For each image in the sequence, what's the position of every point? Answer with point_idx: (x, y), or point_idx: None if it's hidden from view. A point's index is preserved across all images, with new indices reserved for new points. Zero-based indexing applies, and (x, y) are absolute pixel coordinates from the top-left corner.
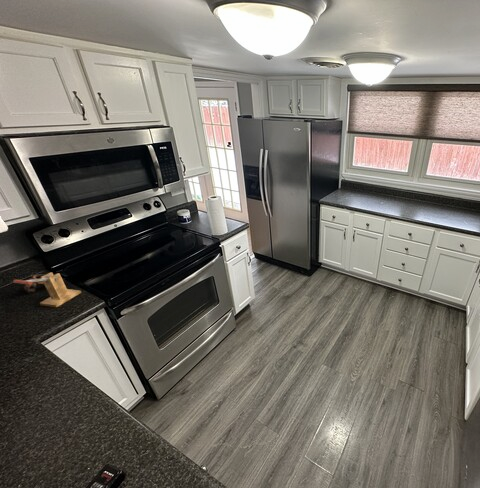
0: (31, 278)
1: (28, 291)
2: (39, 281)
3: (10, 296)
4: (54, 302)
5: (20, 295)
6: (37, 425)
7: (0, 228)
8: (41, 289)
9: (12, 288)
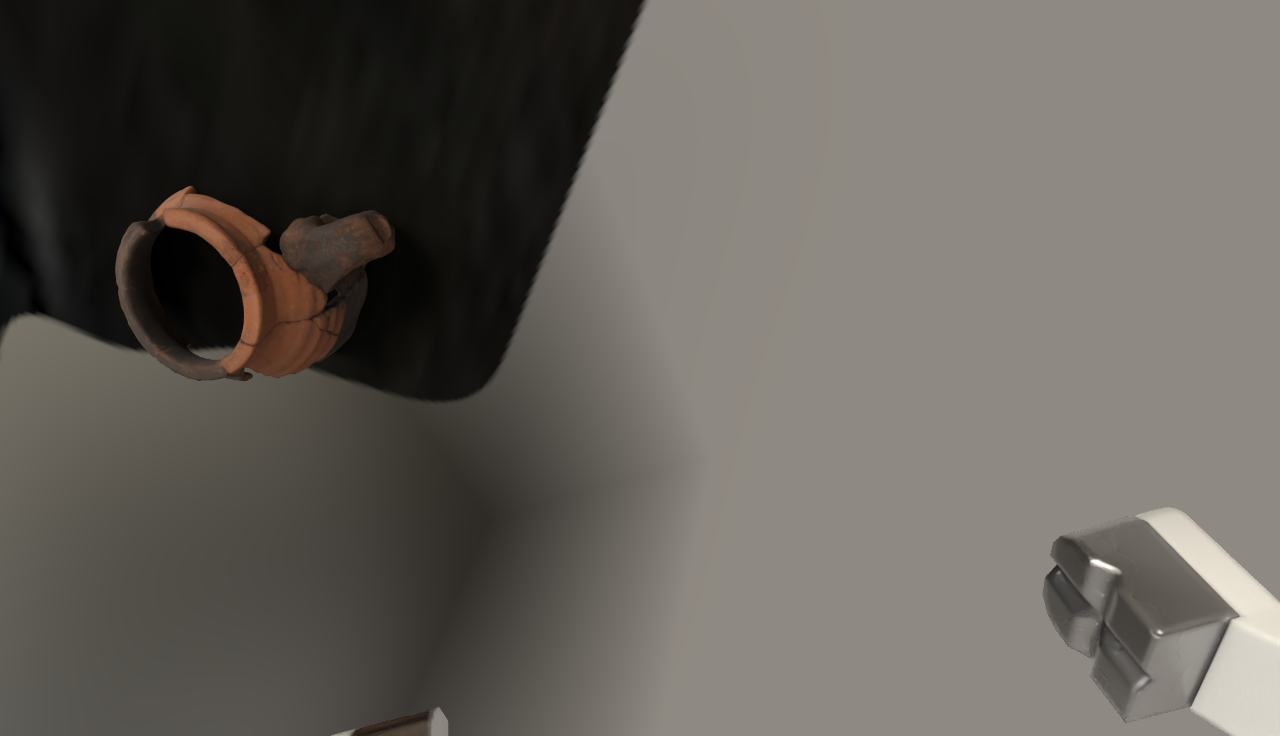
0: (280, 349)
1: None
2: (240, 235)
3: (506, 264)
4: None
5: (451, 203)
6: None
7: None
8: (280, 145)
9: (440, 400)
